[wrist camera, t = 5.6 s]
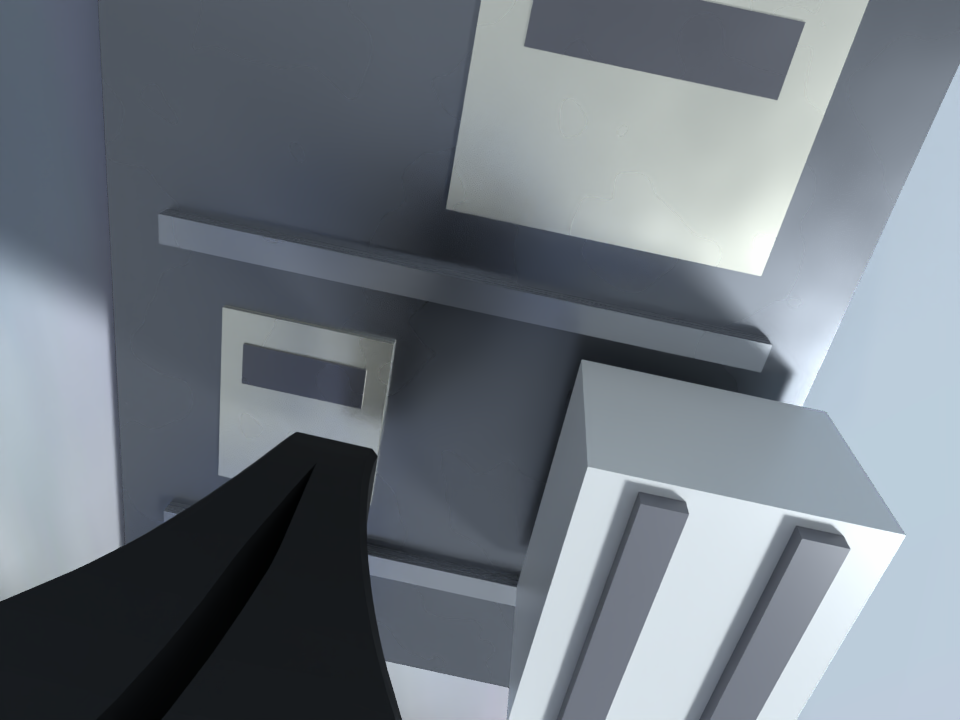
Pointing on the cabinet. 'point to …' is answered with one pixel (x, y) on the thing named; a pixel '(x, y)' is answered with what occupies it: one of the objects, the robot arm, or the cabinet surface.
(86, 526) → the cabinet surface
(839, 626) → the white grey striped block
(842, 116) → the label board
